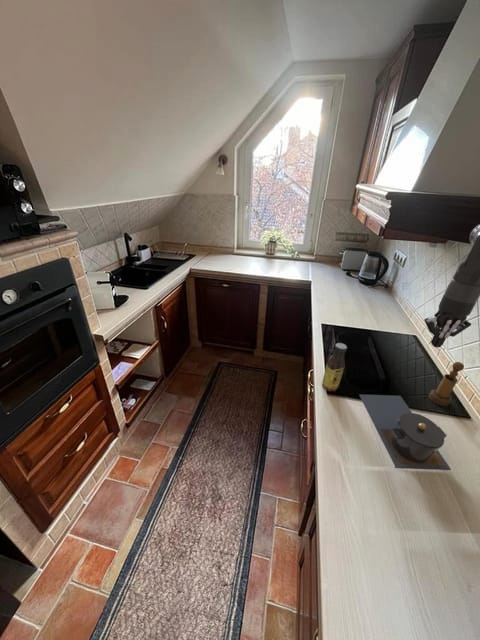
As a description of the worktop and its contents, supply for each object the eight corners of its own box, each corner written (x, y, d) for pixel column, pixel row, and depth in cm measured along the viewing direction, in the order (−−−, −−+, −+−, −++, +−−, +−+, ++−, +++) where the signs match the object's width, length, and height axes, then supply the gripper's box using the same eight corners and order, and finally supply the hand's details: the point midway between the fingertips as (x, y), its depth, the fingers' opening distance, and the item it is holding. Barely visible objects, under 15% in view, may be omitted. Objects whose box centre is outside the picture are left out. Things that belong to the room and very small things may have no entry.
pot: (421, 429, 85) (433, 407, 79) (448, 464, 75) (464, 441, 69) (377, 430, 84) (387, 408, 79) (398, 466, 74) (411, 443, 68)
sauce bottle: (331, 395, 97) (343, 354, 88) (318, 385, 102) (328, 345, 92) (341, 387, 101) (353, 347, 91) (327, 378, 105) (338, 339, 95)
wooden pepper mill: (431, 390, 101) (451, 354, 92) (451, 400, 96) (474, 364, 87) (425, 398, 97) (446, 362, 88) (445, 409, 93) (469, 372, 84)
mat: (400, 396, 98) (400, 395, 97) (450, 470, 73) (451, 469, 73) (358, 395, 98) (358, 394, 98) (395, 468, 74) (395, 467, 73)
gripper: (446, 301, 69) (421, 352, 77) (495, 302, 69) (465, 353, 77) (428, 290, 75) (408, 338, 84) (473, 291, 75) (448, 339, 84)
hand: (435, 345), depth 81 cm, fingers closed
